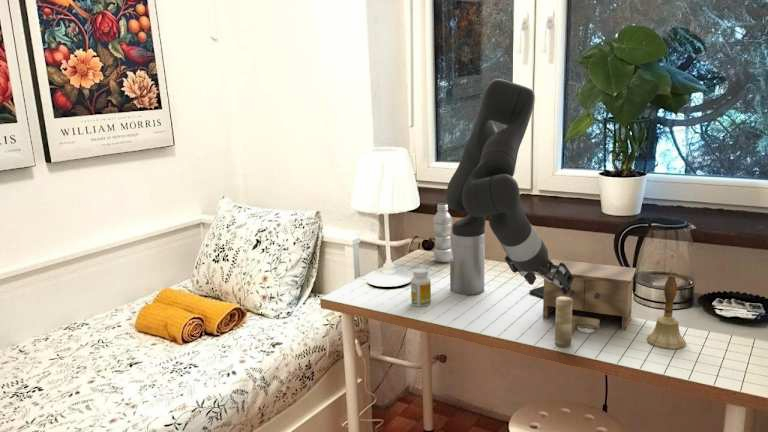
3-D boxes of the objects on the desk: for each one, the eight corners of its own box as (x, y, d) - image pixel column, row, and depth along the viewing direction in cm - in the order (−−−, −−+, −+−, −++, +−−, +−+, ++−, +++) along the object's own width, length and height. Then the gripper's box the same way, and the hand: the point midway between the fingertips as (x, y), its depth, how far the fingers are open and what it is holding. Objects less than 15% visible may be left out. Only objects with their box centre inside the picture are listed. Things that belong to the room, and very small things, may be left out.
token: (576, 334, 146) (576, 329, 146) (577, 327, 150) (577, 322, 150) (595, 336, 145) (595, 331, 144) (596, 329, 149) (596, 324, 148)
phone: (545, 285, 178) (589, 298, 167) (545, 288, 179) (589, 302, 167) (527, 291, 174) (571, 305, 162) (527, 294, 174) (571, 309, 162)
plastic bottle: (432, 264, 205) (432, 206, 201) (434, 258, 211) (433, 202, 207) (452, 264, 204) (451, 206, 200) (453, 259, 210) (452, 202, 206)
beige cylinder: (543, 344, 140) (544, 299, 138) (557, 321, 153) (559, 279, 151) (588, 351, 136) (590, 305, 133) (599, 327, 149) (601, 285, 146)
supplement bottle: (433, 301, 170) (432, 268, 168) (428, 308, 165) (427, 274, 163) (414, 299, 172) (413, 266, 170) (409, 306, 167) (408, 272, 165)
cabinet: (540, 319, 155) (541, 271, 152) (550, 304, 165) (551, 259, 162) (627, 332, 145) (630, 281, 143) (633, 316, 155) (636, 268, 153)
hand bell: (652, 331, 146) (657, 268, 142) (690, 340, 140) (695, 274, 137) (641, 343, 139) (646, 277, 136) (680, 352, 134) (686, 284, 131)
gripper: (562, 237, 120) (586, 280, 130) (503, 224, 130) (529, 264, 140) (545, 268, 117) (571, 309, 128) (486, 252, 127) (514, 291, 138)
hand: (549, 286), depth 134 cm, fingers open, 8 cm apart
